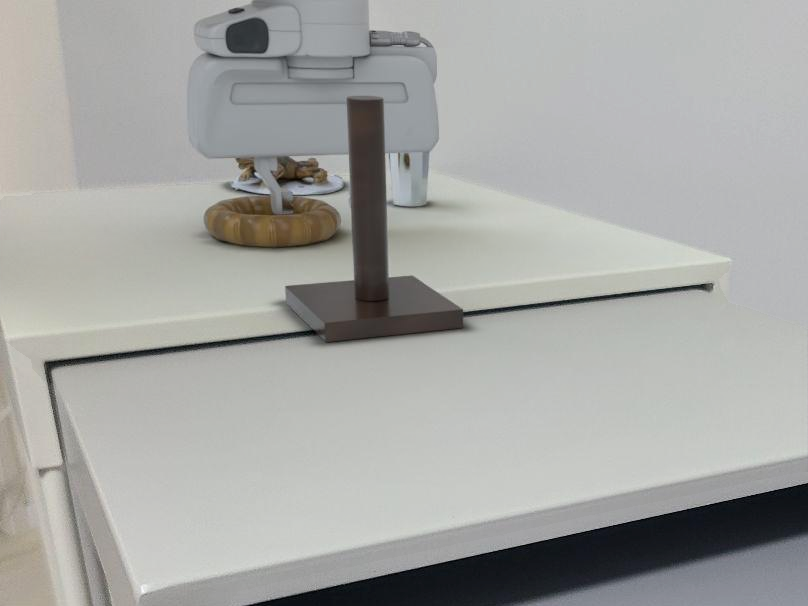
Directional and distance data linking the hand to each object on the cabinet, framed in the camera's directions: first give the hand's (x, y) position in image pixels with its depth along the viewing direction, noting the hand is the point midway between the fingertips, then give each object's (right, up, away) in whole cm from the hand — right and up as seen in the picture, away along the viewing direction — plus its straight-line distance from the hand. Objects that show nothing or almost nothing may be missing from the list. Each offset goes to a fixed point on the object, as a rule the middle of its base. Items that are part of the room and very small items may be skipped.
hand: (322, 210), depth 90 cm
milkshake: (+6, +5, +14) cm, 16 cm away
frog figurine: (-7, +8, +19) cm, 22 cm away
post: (+7, -13, -20) cm, 25 cm away
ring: (-4, -1, -1) cm, 4 cm away
